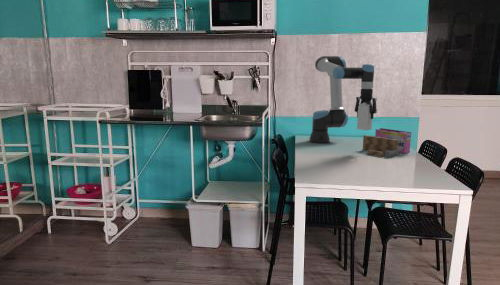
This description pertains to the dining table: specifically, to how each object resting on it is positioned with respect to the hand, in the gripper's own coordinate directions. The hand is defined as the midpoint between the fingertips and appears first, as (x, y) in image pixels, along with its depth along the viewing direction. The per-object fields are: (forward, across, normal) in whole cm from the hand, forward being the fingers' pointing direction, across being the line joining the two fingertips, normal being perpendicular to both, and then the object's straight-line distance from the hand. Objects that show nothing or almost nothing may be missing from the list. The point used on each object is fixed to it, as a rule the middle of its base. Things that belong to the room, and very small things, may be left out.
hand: (364, 123), depth 260 cm
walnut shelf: (+20, +8, +2) cm, 21 cm away
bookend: (+20, +19, +2) cm, 27 cm away
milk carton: (+4, 0, 0) cm, 4 cm away
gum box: (+20, +9, +22) cm, 31 cm away
